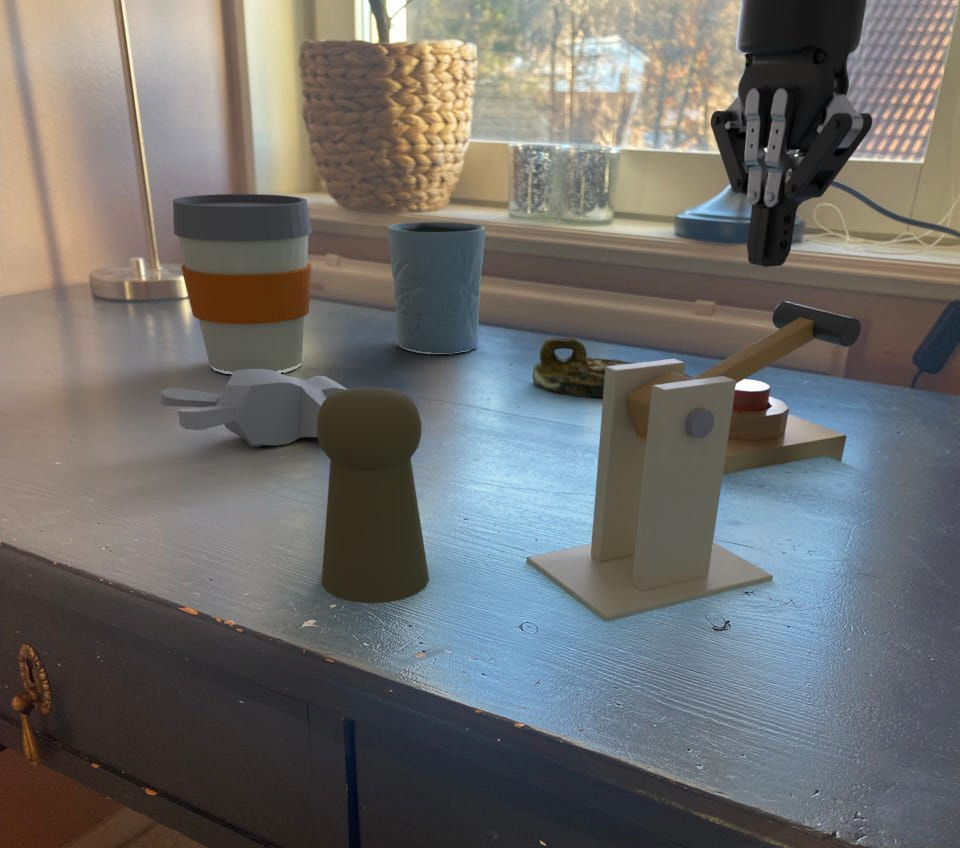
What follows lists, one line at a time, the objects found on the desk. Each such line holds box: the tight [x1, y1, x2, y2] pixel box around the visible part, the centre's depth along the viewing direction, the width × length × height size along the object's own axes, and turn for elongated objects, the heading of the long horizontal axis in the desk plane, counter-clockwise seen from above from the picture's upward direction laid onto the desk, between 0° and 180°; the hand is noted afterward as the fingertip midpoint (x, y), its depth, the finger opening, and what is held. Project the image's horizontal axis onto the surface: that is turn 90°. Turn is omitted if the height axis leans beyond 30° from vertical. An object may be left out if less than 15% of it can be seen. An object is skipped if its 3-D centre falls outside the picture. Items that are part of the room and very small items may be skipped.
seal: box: [532, 336, 693, 398], centre depth 90 cm, size 9×5×15 cm
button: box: [732, 378, 772, 412], centre depth 72 cm, size 4×4×2 cm
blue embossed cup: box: [387, 221, 486, 353], centre depth 102 cm, size 10×10×12 cm
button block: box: [723, 396, 847, 475], centre depth 73 cm, size 12×10×4 cm
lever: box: [627, 300, 862, 440], centre depth 50 cm, size 12×5×2 cm, turn 118°
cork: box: [317, 386, 430, 604], centre depth 50 cm, size 6×6×11 cm
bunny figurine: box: [160, 369, 348, 448], centre depth 75 cm, size 10×5×15 cm
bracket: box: [525, 358, 774, 623], centre depth 51 cm, size 11×8×12 cm
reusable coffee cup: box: [172, 193, 313, 372], centre depth 93 cm, size 13×12×15 cm
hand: (765, 264), depth 68 cm, fingers closed
